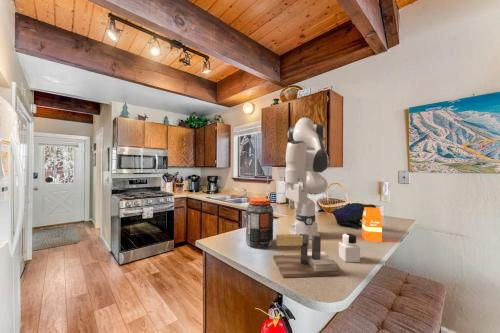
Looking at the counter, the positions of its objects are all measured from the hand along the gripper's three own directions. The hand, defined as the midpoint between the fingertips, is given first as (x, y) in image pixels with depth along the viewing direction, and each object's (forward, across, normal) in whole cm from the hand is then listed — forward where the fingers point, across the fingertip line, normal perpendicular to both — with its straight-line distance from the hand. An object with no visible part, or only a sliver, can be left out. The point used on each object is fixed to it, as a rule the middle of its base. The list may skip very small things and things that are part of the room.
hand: (295, 211), depth 90 cm
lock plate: (+26, +6, -6) cm, 27 cm away
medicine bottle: (+26, +13, -31) cm, 42 cm away
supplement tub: (+25, +35, +10) cm, 44 cm away
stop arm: (+16, +6, -1) cm, 17 cm away
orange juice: (+24, +41, -62) cm, 78 cm away
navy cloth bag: (+24, +69, -66) cm, 98 cm away
